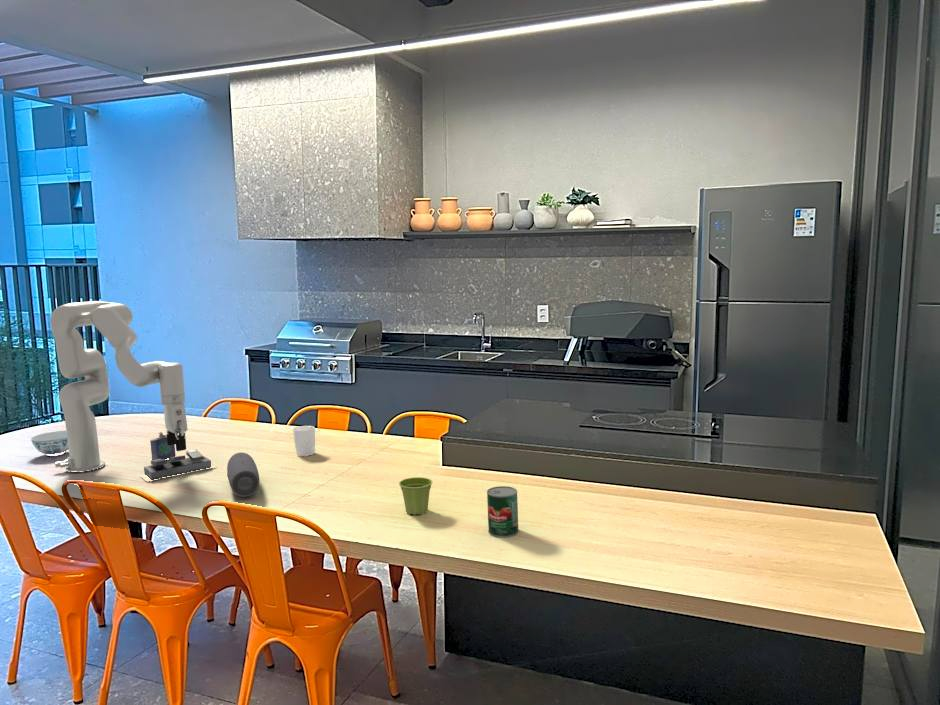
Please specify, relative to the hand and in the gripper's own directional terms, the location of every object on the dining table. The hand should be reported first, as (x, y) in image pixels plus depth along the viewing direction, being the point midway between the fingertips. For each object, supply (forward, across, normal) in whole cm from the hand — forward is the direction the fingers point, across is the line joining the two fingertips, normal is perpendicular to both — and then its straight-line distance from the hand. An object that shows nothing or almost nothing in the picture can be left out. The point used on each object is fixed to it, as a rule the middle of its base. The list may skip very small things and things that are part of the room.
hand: (176, 447), depth 247 cm
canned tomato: (+7, -117, -47) cm, 126 cm away
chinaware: (+11, +62, +28) cm, 69 cm away
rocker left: (+5, +2, +6) cm, 8 cm away
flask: (+10, +21, -1) cm, 23 cm away
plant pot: (+7, -89, -39) cm, 98 cm away
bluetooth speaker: (+9, -34, -10) cm, 37 cm away
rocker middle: (+5, +2, 0) cm, 5 cm away
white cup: (+9, -10, -43) cm, 45 cm away
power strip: (+9, +2, 0) cm, 9 cm away
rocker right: (+5, +2, -6) cm, 8 cm away
